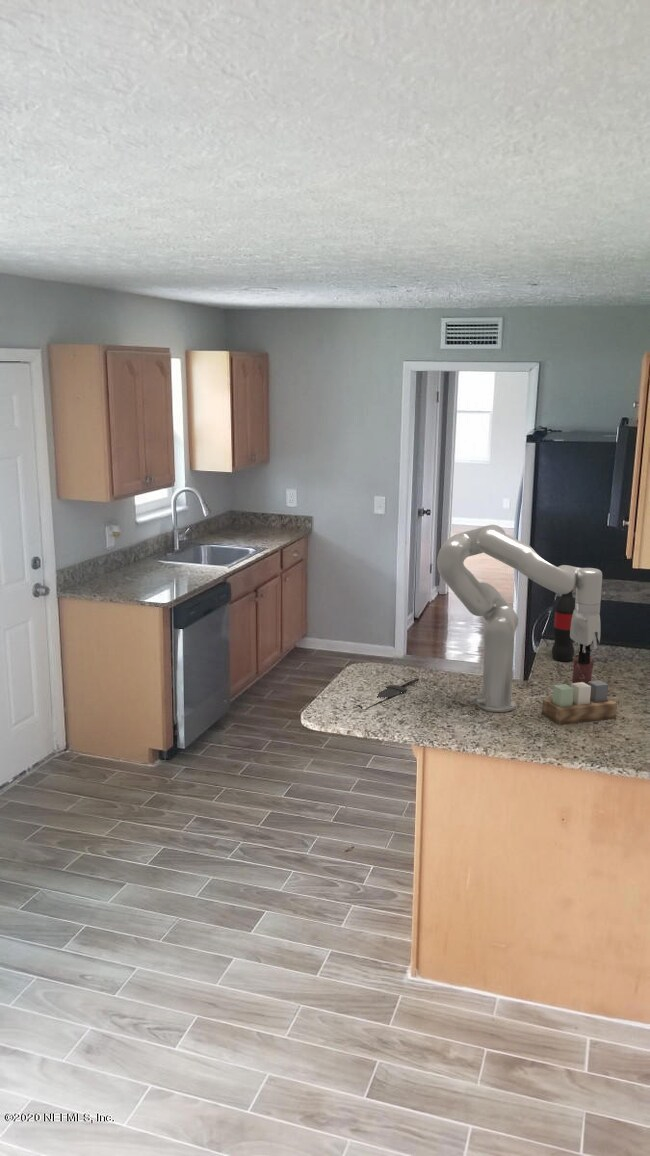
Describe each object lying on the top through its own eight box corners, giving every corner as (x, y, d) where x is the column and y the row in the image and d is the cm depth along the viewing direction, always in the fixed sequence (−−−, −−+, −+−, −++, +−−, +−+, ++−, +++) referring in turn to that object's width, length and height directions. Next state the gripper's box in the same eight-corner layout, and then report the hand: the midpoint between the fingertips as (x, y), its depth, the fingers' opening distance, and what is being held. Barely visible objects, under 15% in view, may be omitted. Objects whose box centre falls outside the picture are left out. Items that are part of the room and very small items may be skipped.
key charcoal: (594, 706, 281) (596, 685, 280) (586, 702, 285) (588, 681, 284) (606, 705, 283) (608, 684, 281) (598, 700, 287) (599, 680, 285)
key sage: (560, 710, 277) (561, 689, 276) (552, 706, 281) (553, 685, 280) (572, 709, 279) (573, 688, 277) (564, 704, 283) (565, 684, 281)
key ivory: (577, 708, 279) (579, 687, 278) (569, 704, 283) (571, 683, 282) (589, 707, 281) (591, 686, 279) (581, 702, 285) (582, 682, 283)
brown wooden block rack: (559, 725, 275) (560, 710, 274) (541, 714, 284) (542, 699, 283) (615, 717, 282) (617, 703, 280) (596, 707, 291) (598, 692, 290)
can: (591, 699, 298) (594, 660, 295) (571, 698, 299) (575, 658, 296) (589, 693, 304) (592, 654, 301) (570, 692, 305) (573, 653, 302)
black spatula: (348, 708, 290) (348, 702, 290) (409, 679, 316) (409, 674, 315) (365, 713, 285) (365, 707, 285) (426, 683, 311) (426, 678, 311)
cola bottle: (576, 658, 344) (582, 583, 337) (569, 663, 337) (575, 587, 330) (555, 654, 348) (560, 580, 342) (548, 660, 341) (553, 584, 335)
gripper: (563, 603, 281) (560, 658, 285) (591, 614, 267) (587, 671, 271) (583, 601, 283) (579, 656, 287) (612, 612, 269) (608, 669, 273)
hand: (583, 663), depth 279 cm, fingers closed
